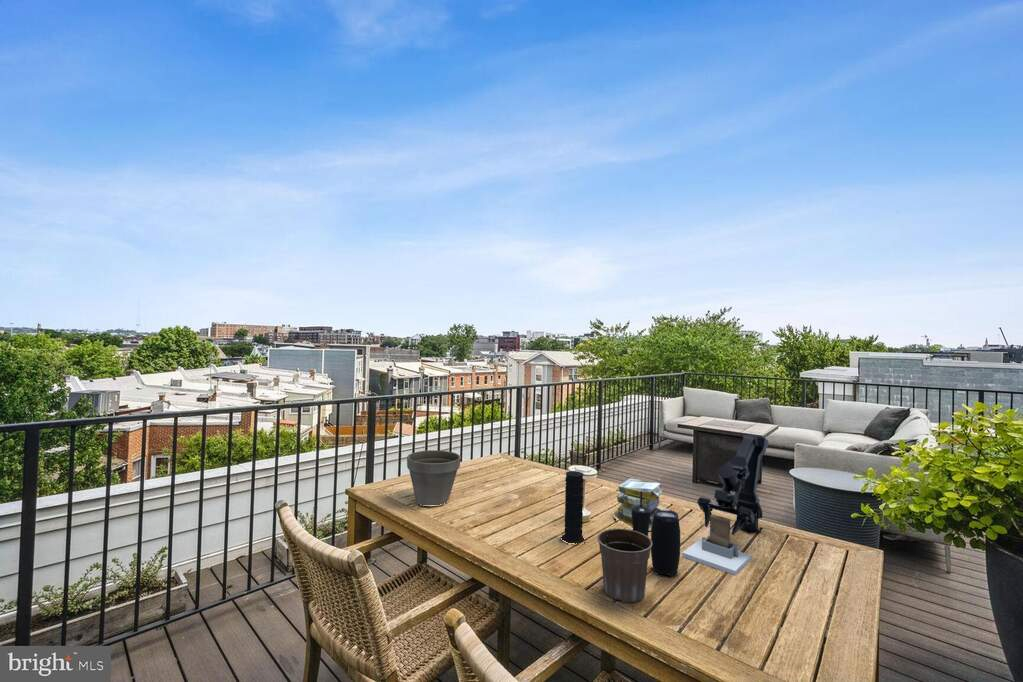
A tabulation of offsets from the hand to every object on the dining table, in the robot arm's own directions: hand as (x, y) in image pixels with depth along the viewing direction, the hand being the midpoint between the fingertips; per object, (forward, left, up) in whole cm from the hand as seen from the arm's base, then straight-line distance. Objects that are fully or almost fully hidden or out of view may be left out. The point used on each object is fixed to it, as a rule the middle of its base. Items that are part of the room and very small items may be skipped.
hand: (718, 530), depth 163 cm
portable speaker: (+26, +5, -9) cm, 28 cm away
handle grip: (+46, -25, -9) cm, 53 cm away
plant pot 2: (+46, +13, -9) cm, 48 cm away
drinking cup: (+23, -15, -9) cm, 29 cm away
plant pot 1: (+94, -78, -9) cm, 122 cm away
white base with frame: (+2, +1, -9) cm, 9 cm away
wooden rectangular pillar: (-1, -1, -8) cm, 8 cm away
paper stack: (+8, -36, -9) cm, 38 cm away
